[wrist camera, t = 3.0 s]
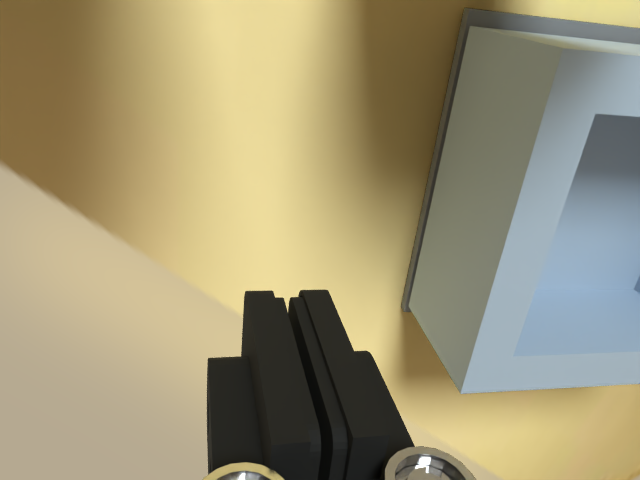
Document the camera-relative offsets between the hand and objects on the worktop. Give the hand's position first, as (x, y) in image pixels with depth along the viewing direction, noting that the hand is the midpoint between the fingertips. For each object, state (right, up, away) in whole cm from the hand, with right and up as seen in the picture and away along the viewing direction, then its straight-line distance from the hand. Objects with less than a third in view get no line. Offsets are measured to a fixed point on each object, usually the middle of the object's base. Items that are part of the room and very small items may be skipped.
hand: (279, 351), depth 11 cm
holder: (+10, +4, +10) cm, 15 cm away
